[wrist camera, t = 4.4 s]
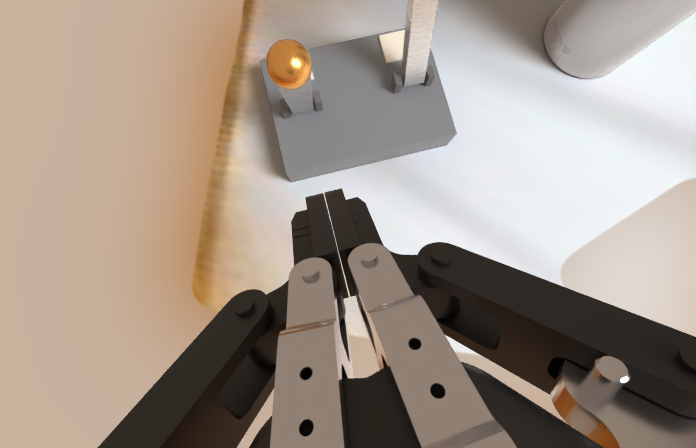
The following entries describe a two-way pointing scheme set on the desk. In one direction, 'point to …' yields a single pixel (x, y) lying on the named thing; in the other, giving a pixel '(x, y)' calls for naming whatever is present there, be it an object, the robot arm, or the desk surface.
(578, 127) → the desk surface
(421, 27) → the lever
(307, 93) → the lever
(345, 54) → the switch console
